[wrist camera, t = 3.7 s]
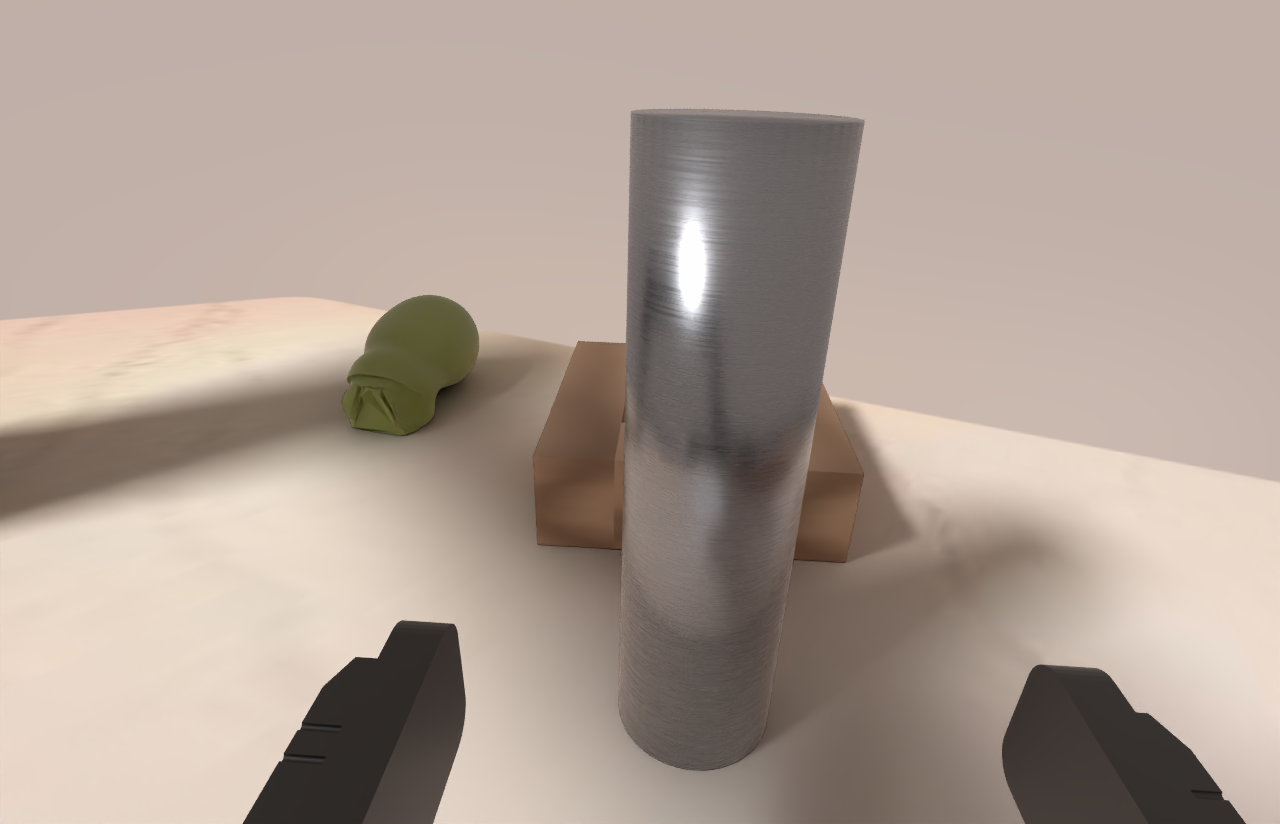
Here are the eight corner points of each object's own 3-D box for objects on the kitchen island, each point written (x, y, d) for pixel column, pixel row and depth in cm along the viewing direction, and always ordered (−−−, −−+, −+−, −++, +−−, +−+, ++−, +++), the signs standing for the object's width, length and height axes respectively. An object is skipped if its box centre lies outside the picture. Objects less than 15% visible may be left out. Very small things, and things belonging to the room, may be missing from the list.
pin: (612, 764, 18) (621, 117, 11) (624, 642, 22) (637, 106, 15) (776, 775, 18) (893, 127, 11) (759, 650, 22) (837, 113, 15)
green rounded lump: (488, 284, 39) (408, 378, 31) (498, 363, 42) (429, 466, 34) (397, 276, 40) (297, 365, 32) (415, 354, 43) (327, 452, 35)
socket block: (537, 544, 27) (533, 456, 25) (579, 409, 37) (578, 341, 36) (845, 562, 26) (864, 473, 24) (798, 420, 37) (808, 351, 35)
